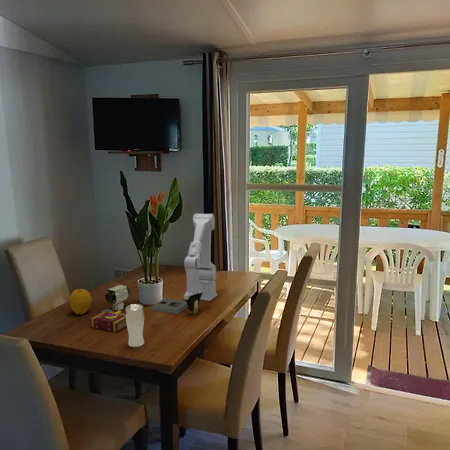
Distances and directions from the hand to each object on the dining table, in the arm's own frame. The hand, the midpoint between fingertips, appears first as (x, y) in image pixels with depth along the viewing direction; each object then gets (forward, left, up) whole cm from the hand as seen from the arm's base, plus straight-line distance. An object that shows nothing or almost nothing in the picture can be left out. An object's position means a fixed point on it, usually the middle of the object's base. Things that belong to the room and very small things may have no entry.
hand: (193, 309), depth 186 cm
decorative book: (+26, -27, -2) cm, 38 cm away
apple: (+20, -49, -2) cm, 53 cm away
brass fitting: (0, 0, -1) cm, 1 cm away
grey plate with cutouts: (-1, -13, -1) cm, 13 cm away
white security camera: (+10, -35, -2) cm, 36 cm away
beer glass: (+37, -6, -2) cm, 38 cm away
